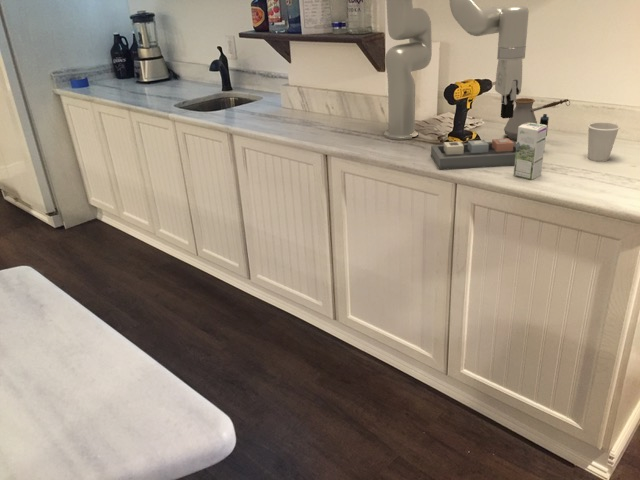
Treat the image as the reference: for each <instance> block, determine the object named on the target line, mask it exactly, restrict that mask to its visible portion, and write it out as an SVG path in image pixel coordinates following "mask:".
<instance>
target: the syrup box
mask: <svg viewBox="0 0 640 480" xmlns="http://www.w3.org/2000/svg"><path fill="white" fill-rule="evenodd" d="M546 131H547V132H548V128H547V125H542V124H540V123H537V124H535V123H524V124H522V125H521V126H519V127H518V136H517V140H516V144H517V146H516V156H515V166H513V168H514V170H513V176H514V177H518V178H522V179H526V180H531V181H532V180H534V179H536V178H539V177H540V176H541V175H542V173H543V171H542V170H543V161H544V160H543V159H544V153H545V147H546V137H547V136H546ZM544 146H545V147H544Z"/></svg>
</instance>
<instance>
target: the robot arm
mask: <svg viewBox="0 0 640 480" xmlns="http://www.w3.org/2000/svg"><path fill="white" fill-rule="evenodd" d="M385 1H386V21H387V23H386V24H387V32H388V35H389V37H390V38H391V39H392V40H395V41H404V40H408V41H409V42H407V43H401V44H396V45H394V46H392V47H391V48H389V49H388V50H387V52H386V54H385V56H384V65H385V70H386V74H387V75H386V77H387V93H388V94H387V95H388V96H387V98H388V99H387V100H388V103H387V104H388V107H387V109H388V111H387V112H388V115H387V116H388V117H387V118H388V119H387V120H388V121H387V122H388V123H387V124H388V127H387V128H388V129H387V130H385V131H384V133H383V136H384V137H385V138H387V139H391V140H399V141H403V140H412V139H413V138H412V135H410V134H412V133H413V132H414V131H415V129H416V126H415V125H416V120H415V119H416V84H415V80H414V78H413V75H412V72H415V71H420V70H423V69H425V68H427V67H428V66H429V65H430V63H431V61H432V60H431V59H432V50H433V49H432V48H433V47H432V45H433V44H432V41H433V40H432V21H431V18H430V17H431V16H430V15H429V13H428V12H427V11H426V10H425V9H423V8H420V7H415V8H414V7H413V0H385ZM449 7H450V8H449V9H450V11H451V15H452V17H453V18H454V19H455V21H456V22H457V24H459V26H460V27H461V28H462V29H463V30H464V31H465V32H466V33H467V34H469V35H470V36H473V37H481V36H487V35H492V34H493V35H495V34H497V33H498V39H497V40H498V42H497V57H496V60H498V62H497V67H496V72H495V73H496V74H495V85H494V90H495V92H496V93H497V94H499V95H501V99H500V100H501V102H500V103H501V104H500V105H501V106H500V117H501V118H502V119H509V118H512V117H513V111H514V109H515V103H516V102H515V100H516V99H517V96H519V95H520V94H521V92H522V83H523V82H522V81H523V60H524V59H525V58H526V52H527V51H526V47H527V36H528V25H529V11H530V10H529V8H528V7H527V6H525V5H511V6H505V5H491V6H490V5H488V6H481V7H479V6H478V5H477V4H476V2H475V1H474V0H449Z"/></svg>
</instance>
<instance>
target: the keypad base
mask: <svg viewBox="0 0 640 480" xmlns="http://www.w3.org/2000/svg"><path fill="white" fill-rule="evenodd" d="M511 141H512V142H513V143H514V146H513V151H499V152H496V151H495V150H494V149H493V148H492V141H486V142H487V143H488V144H489V148H488V152H482V153H471V152H470V151H469V149H468V142H466V143H465V142H463V143H462V144H463V146H464V152H463V154H449V155H447V154H446V153H445V151H444V144H433V145H431V146H430V147H431V148H430V157H431V158H432V160H433V161H434V164H435V165H436V166H437V168H438V170H439V171H445V170H446V171H447V170H460V169H463V170H464V169H478V168H495V167H511V166H513V167H515V156H516V146H517V142H516V141H515V140H511Z"/></svg>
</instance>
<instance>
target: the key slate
mask: <svg viewBox="0 0 640 480" xmlns="http://www.w3.org/2000/svg"><path fill="white" fill-rule="evenodd" d="M487 142H488V141H486V140H485V139H478V140H476V139H475V140H468V141H467V143H468V149H469V151H470V152H471V153H482V152H488V148H489V144H488V143H487Z"/></svg>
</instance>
